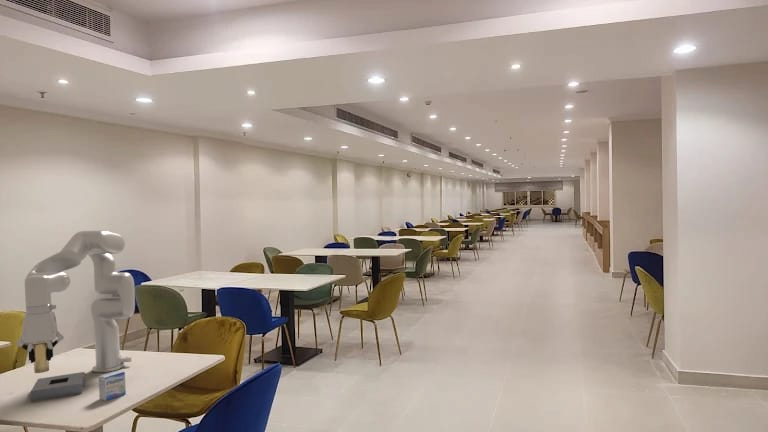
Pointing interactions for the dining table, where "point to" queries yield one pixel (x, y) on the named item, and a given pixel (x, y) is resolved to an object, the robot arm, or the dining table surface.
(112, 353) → the robot arm
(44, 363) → the brass peg
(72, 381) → the socket block
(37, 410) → the dining table surface
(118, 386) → the medicine box
